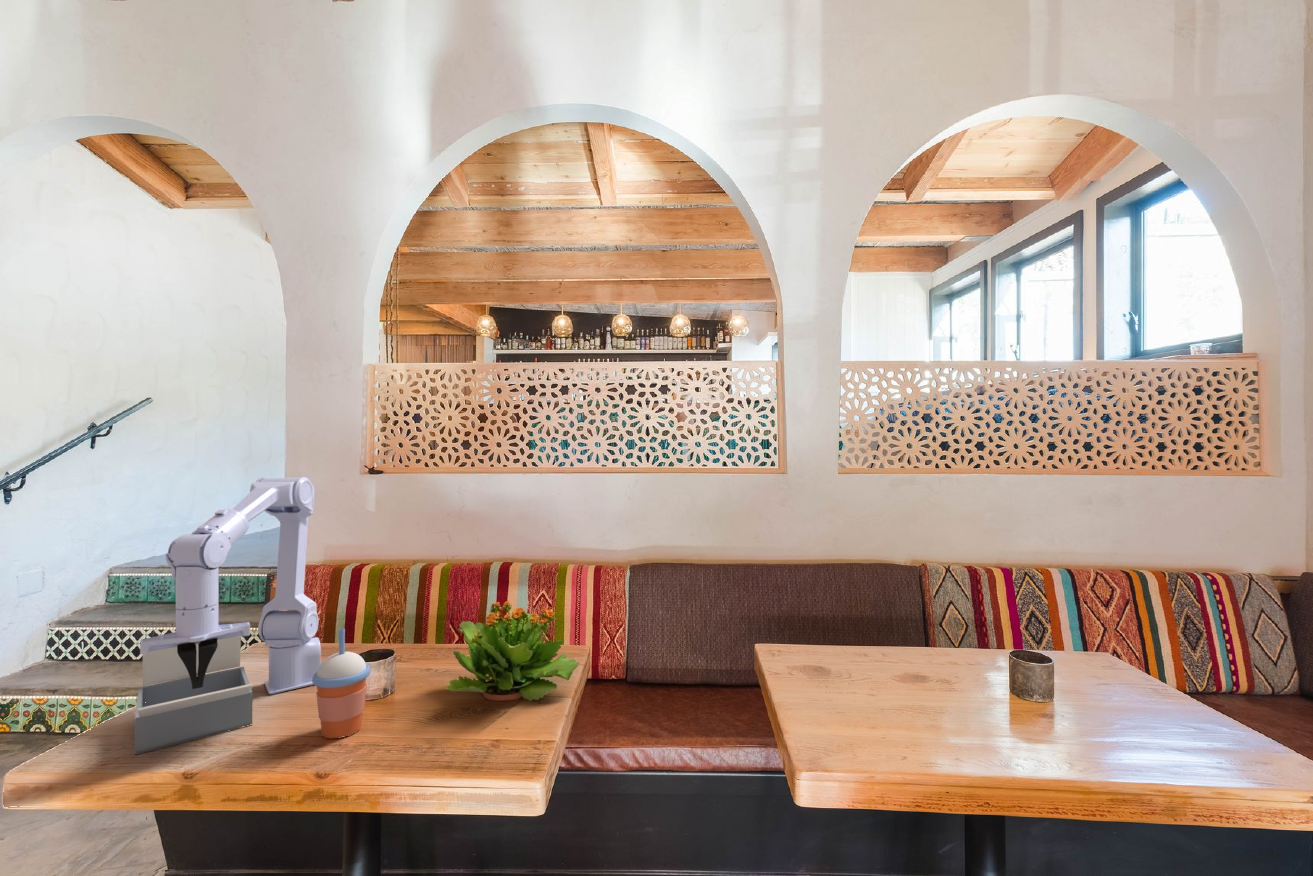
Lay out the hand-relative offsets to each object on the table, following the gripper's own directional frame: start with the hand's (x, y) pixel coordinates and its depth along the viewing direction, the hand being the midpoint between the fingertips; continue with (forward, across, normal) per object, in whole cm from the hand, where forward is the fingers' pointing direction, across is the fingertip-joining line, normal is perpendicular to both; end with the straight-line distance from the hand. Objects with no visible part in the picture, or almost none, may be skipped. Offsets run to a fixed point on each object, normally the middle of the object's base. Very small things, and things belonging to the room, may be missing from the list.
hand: (197, 686), depth 100 cm
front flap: (+2, 0, 0) cm, 2 cm away
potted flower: (+10, +49, -12) cm, 52 cm away
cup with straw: (+10, +20, -10) cm, 24 cm away
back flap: (0, 0, +18) cm, 18 cm away
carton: (+10, 0, +12) cm, 15 cm away
